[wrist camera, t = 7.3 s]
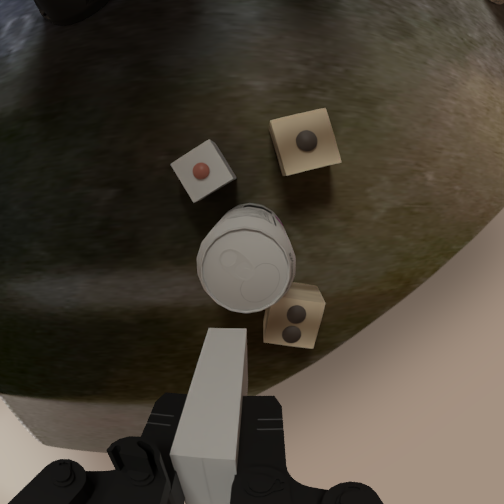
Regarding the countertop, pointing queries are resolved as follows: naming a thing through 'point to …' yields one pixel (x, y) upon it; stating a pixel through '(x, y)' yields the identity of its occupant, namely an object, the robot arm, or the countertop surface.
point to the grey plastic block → (203, 170)
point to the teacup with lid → (497, 1)
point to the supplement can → (246, 260)
